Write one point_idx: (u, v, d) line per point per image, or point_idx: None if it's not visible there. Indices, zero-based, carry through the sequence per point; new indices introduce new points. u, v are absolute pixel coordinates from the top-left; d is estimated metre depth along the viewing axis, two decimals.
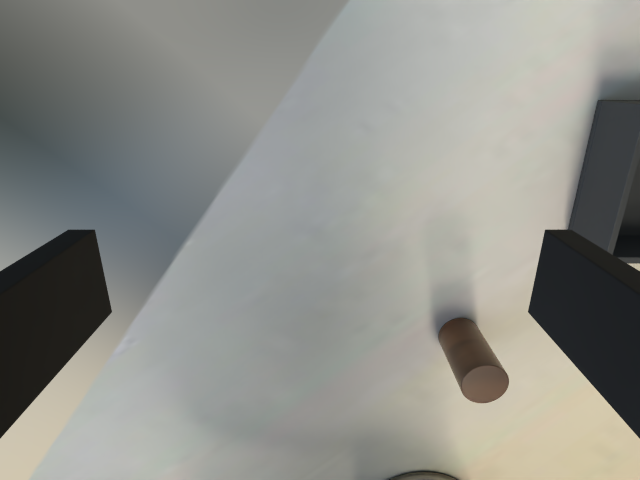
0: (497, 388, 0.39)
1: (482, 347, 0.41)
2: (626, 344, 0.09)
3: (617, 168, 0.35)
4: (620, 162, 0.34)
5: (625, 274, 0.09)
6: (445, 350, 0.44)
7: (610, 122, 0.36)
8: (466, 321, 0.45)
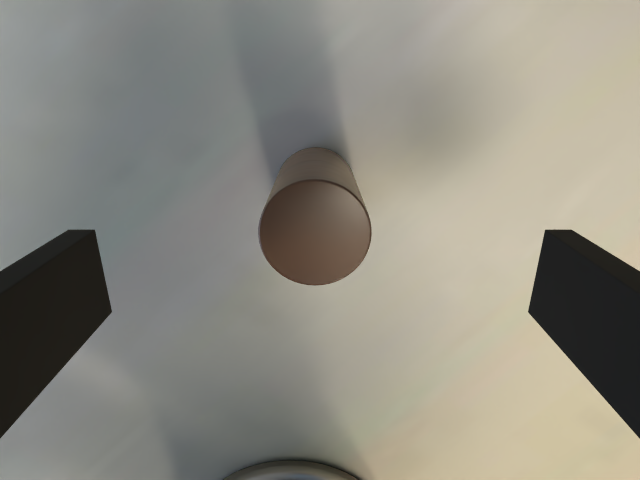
0: (346, 245, 0.16)
1: (324, 166, 0.18)
2: (626, 344, 0.09)
3: None
4: None
5: (625, 274, 0.09)
6: None
7: None
8: (321, 149, 0.22)
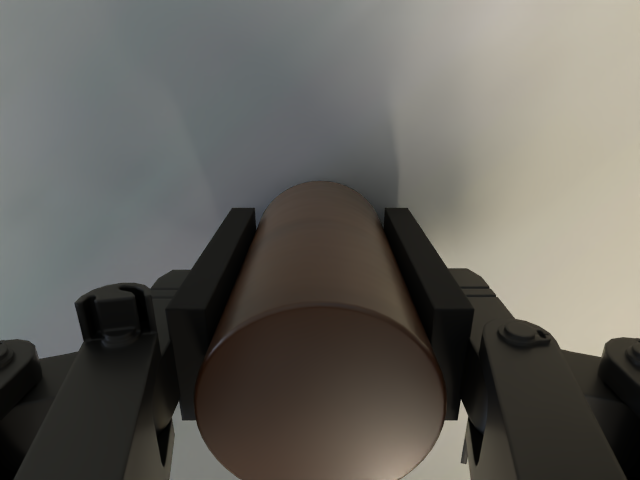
0: (388, 433, 0.07)
1: (338, 240, 0.09)
2: None
3: None
4: None
5: (412, 239, 0.11)
6: None
7: None
8: (331, 187, 0.13)
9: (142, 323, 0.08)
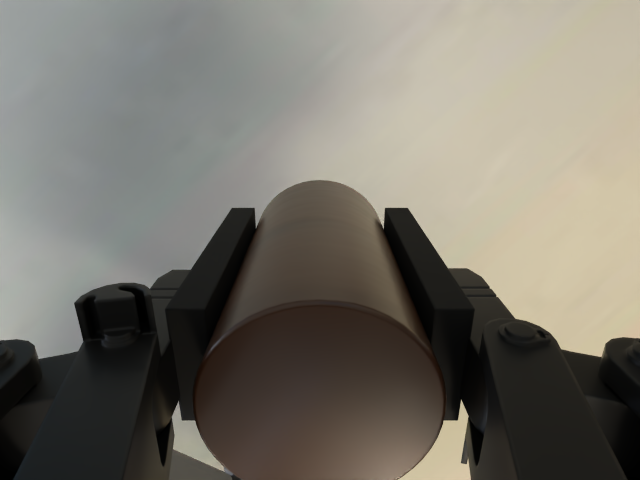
0: (388, 432, 0.07)
1: (337, 238, 0.09)
2: None
3: None
4: None
5: (413, 239, 0.11)
6: None
7: None
8: (330, 186, 0.13)
9: (142, 323, 0.08)
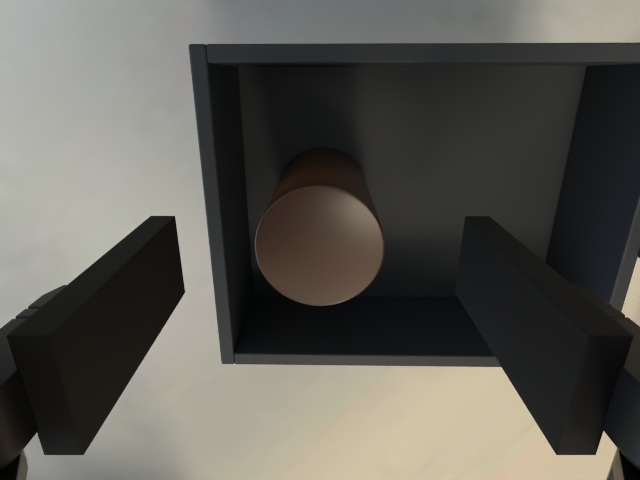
0: (355, 261, 0.14)
1: (331, 169, 0.16)
2: (511, 313, 0.10)
3: None
4: None
5: (515, 252, 0.10)
6: None
7: None
8: (329, 149, 0.20)
9: None
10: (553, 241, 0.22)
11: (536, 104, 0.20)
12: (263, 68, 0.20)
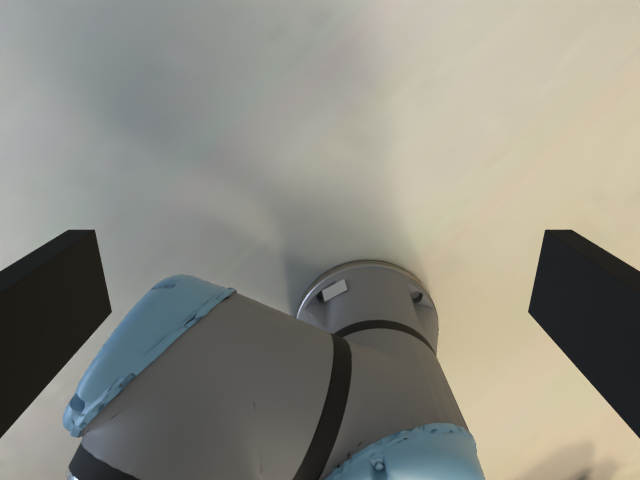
0: None
1: None
2: (626, 344, 0.09)
3: None
4: None
5: (625, 274, 0.09)
6: None
7: None
8: None
9: None
10: None
11: None
12: None
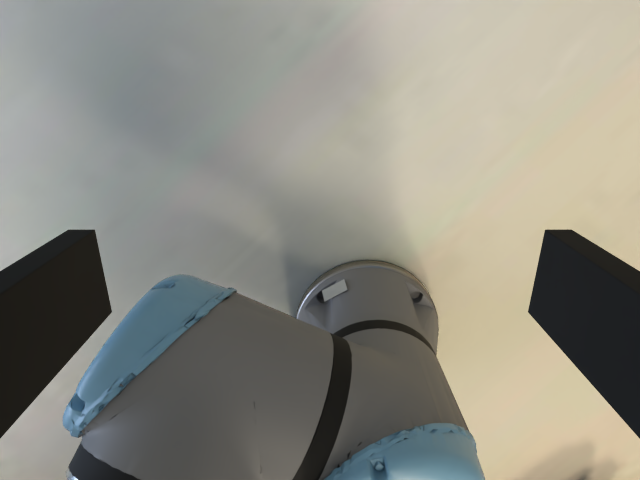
0: None
1: None
2: (626, 344, 0.09)
3: None
4: None
5: (625, 274, 0.09)
6: None
7: None
8: None
9: None
10: None
11: None
12: None
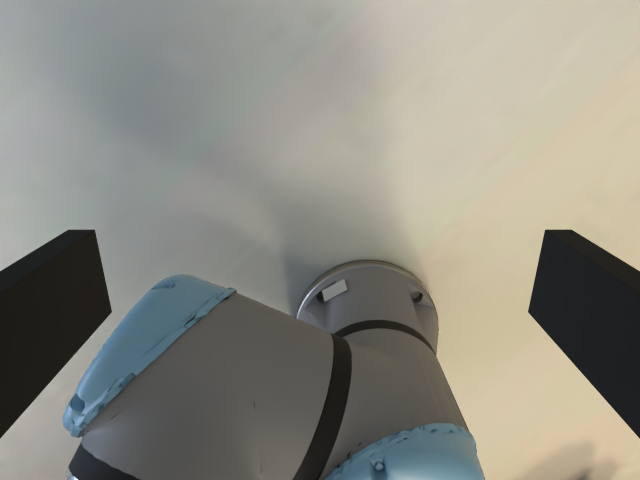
0: None
1: None
2: (626, 344, 0.09)
3: None
4: None
5: (625, 274, 0.09)
6: None
7: None
8: None
9: None
10: None
11: None
12: None
